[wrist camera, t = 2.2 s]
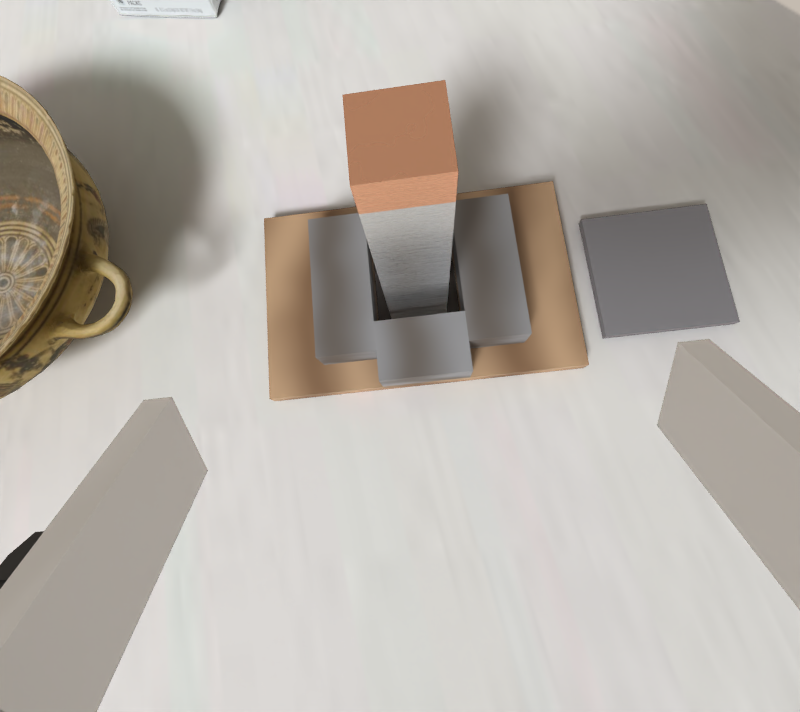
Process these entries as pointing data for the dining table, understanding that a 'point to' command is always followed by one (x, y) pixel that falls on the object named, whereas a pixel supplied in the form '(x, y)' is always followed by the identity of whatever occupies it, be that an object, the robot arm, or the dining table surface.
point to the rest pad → (657, 272)
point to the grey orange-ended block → (405, 190)
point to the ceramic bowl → (47, 244)
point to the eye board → (486, 362)
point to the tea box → (168, 8)
